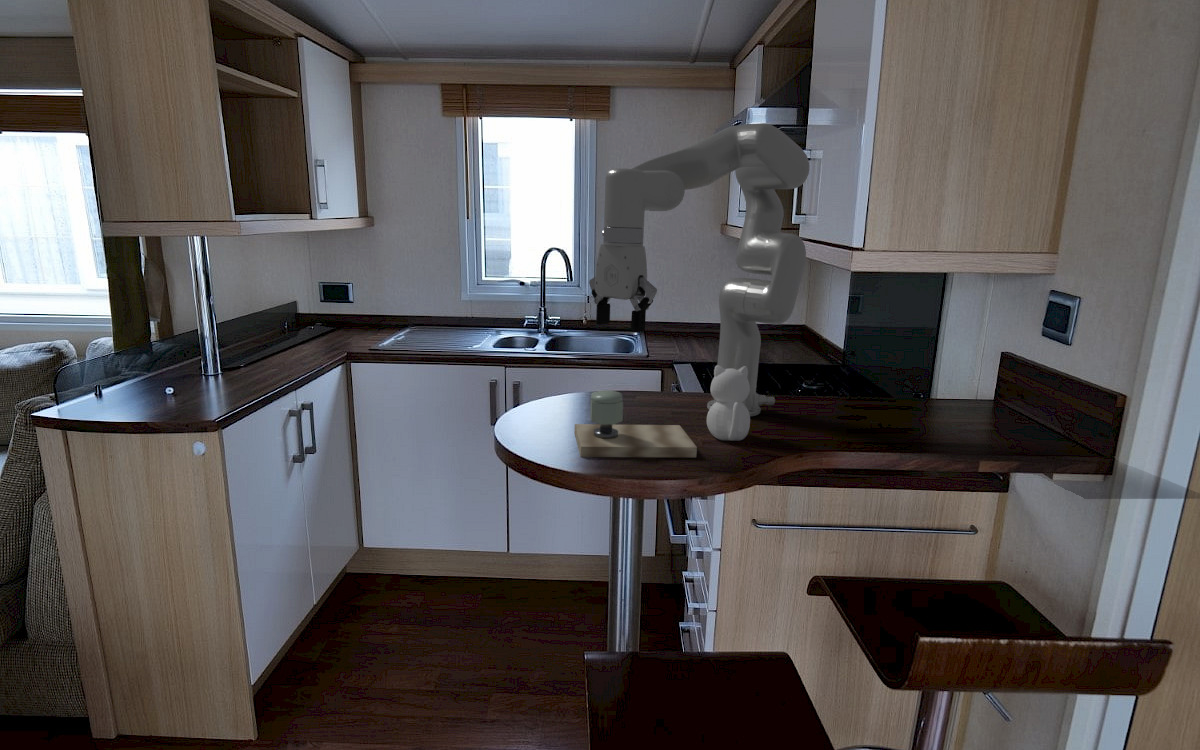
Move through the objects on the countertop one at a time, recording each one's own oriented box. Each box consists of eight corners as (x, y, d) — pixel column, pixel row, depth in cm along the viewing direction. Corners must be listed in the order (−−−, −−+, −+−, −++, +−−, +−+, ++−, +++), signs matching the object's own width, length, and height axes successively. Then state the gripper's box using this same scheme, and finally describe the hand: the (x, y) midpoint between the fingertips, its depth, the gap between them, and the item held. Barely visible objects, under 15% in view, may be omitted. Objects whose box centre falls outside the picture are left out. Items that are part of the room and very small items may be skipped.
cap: (604, 412, 133) (604, 388, 132) (628, 418, 129) (628, 394, 128) (584, 419, 128) (584, 395, 127) (608, 426, 125) (609, 401, 124)
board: (678, 434, 139) (679, 425, 138) (696, 457, 125) (697, 447, 125) (574, 433, 136) (574, 424, 136) (580, 456, 123) (581, 446, 122)
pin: (616, 431, 132) (618, 396, 131) (619, 439, 128) (621, 402, 126) (592, 431, 132) (593, 396, 130) (594, 438, 127) (596, 402, 125)
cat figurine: (740, 429, 145) (746, 362, 142) (758, 447, 132) (765, 374, 129) (699, 429, 144) (705, 361, 141) (714, 447, 132) (721, 373, 129)
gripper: (578, 235, 128) (576, 323, 132) (642, 239, 116) (638, 336, 120) (606, 235, 133) (603, 319, 137) (671, 239, 121) (666, 332, 125)
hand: (619, 327), depth 129 cm, fingers open, 9 cm apart
